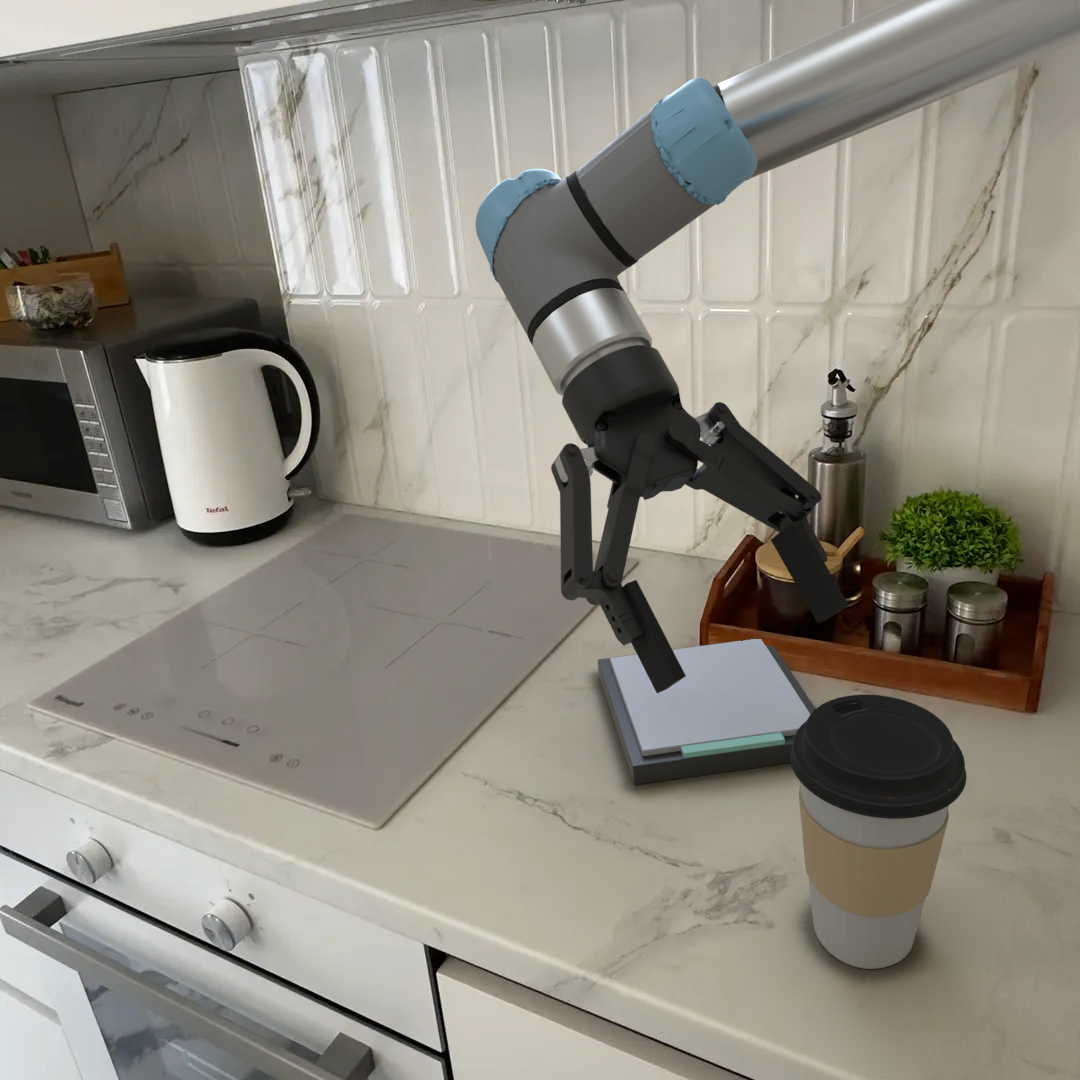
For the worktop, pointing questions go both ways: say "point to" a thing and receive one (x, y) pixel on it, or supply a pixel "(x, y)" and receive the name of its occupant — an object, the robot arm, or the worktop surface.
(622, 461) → the robot arm
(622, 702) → the kitchen scale
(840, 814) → the coffee cup
